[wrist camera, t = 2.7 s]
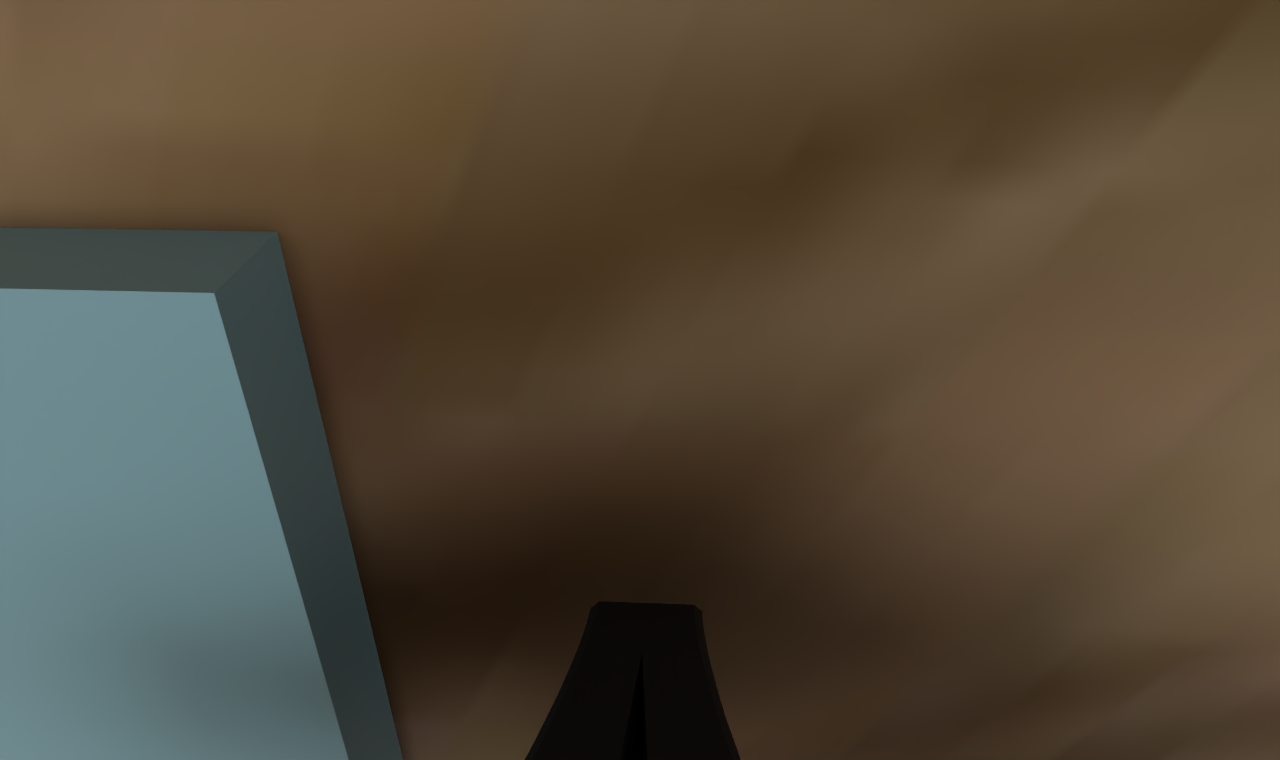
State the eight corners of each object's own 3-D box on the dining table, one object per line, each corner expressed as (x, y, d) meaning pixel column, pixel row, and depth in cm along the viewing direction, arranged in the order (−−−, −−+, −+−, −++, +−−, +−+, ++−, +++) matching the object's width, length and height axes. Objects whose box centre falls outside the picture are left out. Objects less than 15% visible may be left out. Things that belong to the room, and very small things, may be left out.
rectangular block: (422, 789, 16) (390, 902, 15) (50, 770, 17) (-24, 878, 15) (293, 215, 10) (214, 293, 9) (-276, 205, 11) (-458, 278, 9)
